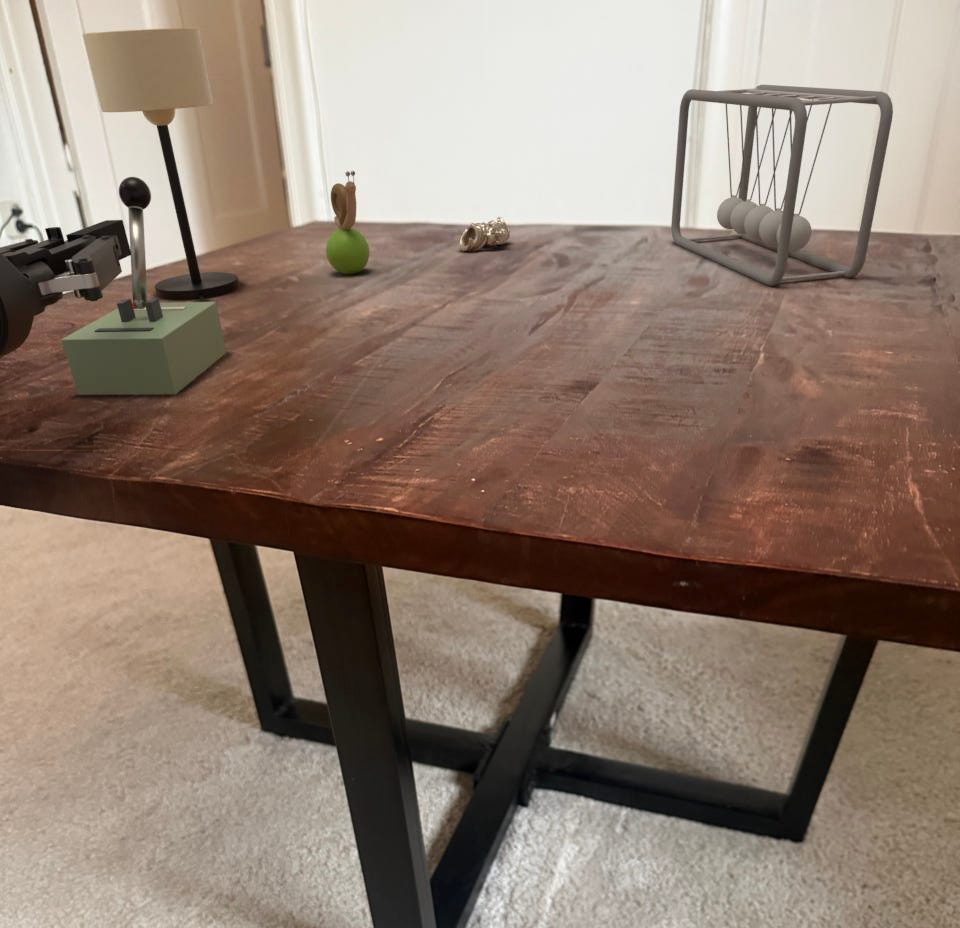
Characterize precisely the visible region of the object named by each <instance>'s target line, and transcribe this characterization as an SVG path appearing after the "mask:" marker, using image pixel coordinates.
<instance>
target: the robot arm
mask: <svg viewBox="0 0 960 928" xmlns="http://www.w3.org/2000/svg"><path fill="white" fill-rule="evenodd" d="M44 230H45V234H46V236H47V239H45V240H42V241H40V242H39V240H38V239H32V238H25V240H24V241H20V242H19V241H18V242H15V243H12V244H8V245H4V246H1V247H0V359H1V358H3V357H5V356H7V355H8V354H11V353H13V352H14V351H16V350H18V349H19V348H20V347H21V346H22V345H24V343H25V342H26V340H27V339H28V337H29V336H30V333H31V330H32V327H33V324H34V319H35V317H36V316H38V315H40V314H42V313H44V312H45V310H46V307H48V306H52V305H54V304H56V303H58V302H59V301H60V300H62V299H63V296H64V293H65V292H72V291H73V293H74V297H75V298H76V299H81V298H83V299H84V300H85V301H89V302H97V301H99V300H101V299H103V298H104V296H103V290H104V289H105V288H106V287H108V286H109V284H111V283H112V282H113V281H114V280H115V279H116V278H117V277H118V276H119V275H120V274H122V272H123V270H122V266H121V261H122V260H123V259H126V258H127V257H129V256H130V257H131V251H130V242H129V239H128V235H127V232H126V228H125V223H124V221H123V219H108V220H103V221H101V222H97V223H95V224H93V225H90V226H87V227H84V228H81V229H78V230H76V231H74V232H70V233H68V234H65V236H66V240H65V238H64V235H63V232H62V228H61V227H60V226H53V227H45V228H44Z"/></svg>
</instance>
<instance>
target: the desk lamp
mask: <svg viewBox="0 0 960 928" xmlns="http://www.w3.org/2000/svg"><path fill="white" fill-rule="evenodd" d="M200 31H201V30H200V28H199V27H168V28H145V29H144V28H143V29H142V28H141V29H126V30H125V29H124V30H109V31H108V30H107V31H97V32H85V33H82V39H83V43H84V47H85V50H86V54H87V59H88V62H89V66H90V70H91V74H92V79H93V82H94V86H95V89H96V90H95V91H96V94H97V99H98V103H99V106H100V110H101V113H135V112H142V114H143V116H144V118H145V119H146V121H148V122H149V123H150V124H152V125H153V126H156V129H157V134H158V138H159V143H160V147H161V151H162V152H161V153H162V156H163V160H164V165H165V169H166V174H167V178H168V182H169V188H170V193H171V197H172V201H173V205H174V209H175V214H176V218H177V224H178V227H179V232H180V238H181V241H182V246H183V251H184V255H185V259H186V263H187V268H188V272H189V273H187V274H181V275H175V276H172V277H169V278H168V277H167V278H165V279H162V280H159V281H158V282H156V283H155V284H154V289H155V294H156V298H158V299H161V300H165V301H166V300H167V301H197V300H198V302H207V300H206V299H210V298H216V297H221V296H224V295H229V294H231V293H233V292H235V291H237V290H238V289H240V282H239V281H240V280H239V276H238V275H236V274H234V273H231V272H225V271H224V272H223V271H210V272H209V271H207V272H206V271H205V272H201V271H200V267H199V263H198V258H197V254H196V253H197V252H196V250H195V249H196V248H195V244H194V239H193V236H192V231H191V230H192V229H191V225H190V222H189V221H190V220H189V216H188V211H187V208H186V203H185V199H184V194H183V189H182V185H181V180H180V176H179V170H178V167H177V166H178V165H177V161H176V157H175V151H174V147H173V142H172V139H171V138H172V137H171V134H170V129H169V125H170V124H171V123H172V122H173V121H174V118H175V116H176V110H177V109H179V110H180V109H188V108H198V107H199V108H200V107H206V106H211V105H213V104H214V101H213V95H212V89H211V85H210V79H209V73H208V68H207V63H206V60H205V59H206V58H205V54H204V53H205V52H204V47H203V42H202V36H201V32H200Z"/></svg>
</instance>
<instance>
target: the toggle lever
mask: <svg viewBox="0 0 960 928" xmlns="http://www.w3.org/2000/svg"><path fill="white" fill-rule="evenodd" d="M118 195H119V199H120V201H121V203H122V204H123V205H124V206H125V207H127V208H128V209H127V211H128V229H129V247H130V251H131V255H130V269H131V271H130V272H131V291H132V294H131V295H132V300H133V304H134V306H135V307H137V308H138V309H144V308H145V307H146V306H145V302H147V301H148V285H147V284H148V283H147V263H146V262H147V261H146V243H145V241H146V240H145V238H146V237H145V218H144V217H145V216H144V210H145V209H147V208H148V207H149V205H150V204H151V200H152V192H151V189H150V187H149V186H148V184H147V183H146V182H145V181H144V180H143V179H142V178H139V177H136V176H129V177H126V178H124V179H123V180H122V181H121V182H120V184H119V187H118Z"/></svg>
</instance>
